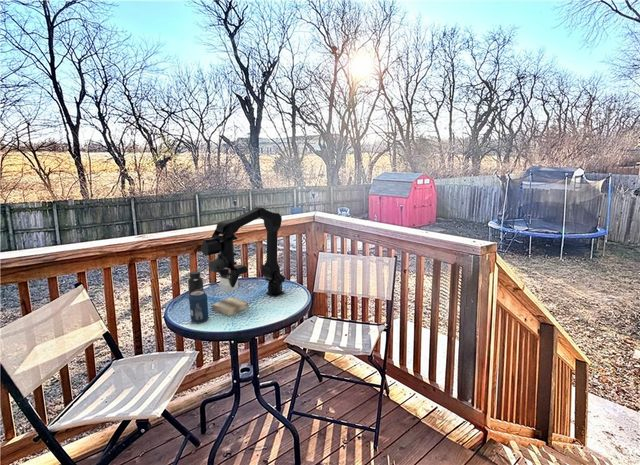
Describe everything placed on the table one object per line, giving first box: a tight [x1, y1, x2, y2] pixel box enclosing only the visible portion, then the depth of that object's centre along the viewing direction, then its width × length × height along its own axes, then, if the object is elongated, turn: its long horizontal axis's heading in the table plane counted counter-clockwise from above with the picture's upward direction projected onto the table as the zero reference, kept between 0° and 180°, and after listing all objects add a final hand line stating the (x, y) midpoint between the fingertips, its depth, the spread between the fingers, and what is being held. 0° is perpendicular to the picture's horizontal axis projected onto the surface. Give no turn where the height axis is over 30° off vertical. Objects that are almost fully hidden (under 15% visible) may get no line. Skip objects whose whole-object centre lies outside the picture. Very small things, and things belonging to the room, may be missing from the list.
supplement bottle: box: [187, 270, 205, 298], centre depth 179 cm, size 7×7×12 cm
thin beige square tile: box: [211, 296, 250, 317], centre depth 165 cm, size 11×11×2 cm
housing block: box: [219, 274, 239, 293], centre depth 163 cm, size 6×5×6 cm
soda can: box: [188, 290, 210, 324], centre depth 153 cm, size 7×7×12 cm
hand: (229, 286), depth 163 cm, fingers closed on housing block, 5 cm apart
